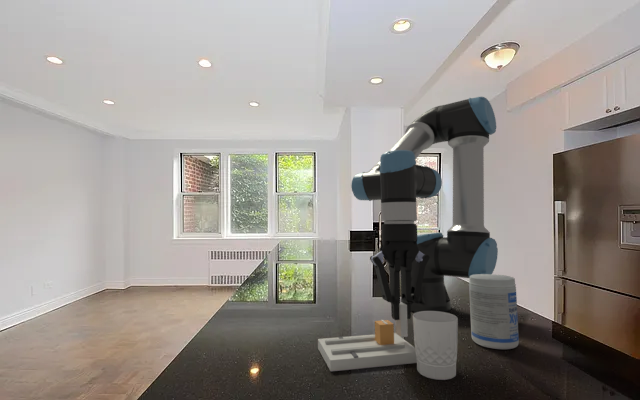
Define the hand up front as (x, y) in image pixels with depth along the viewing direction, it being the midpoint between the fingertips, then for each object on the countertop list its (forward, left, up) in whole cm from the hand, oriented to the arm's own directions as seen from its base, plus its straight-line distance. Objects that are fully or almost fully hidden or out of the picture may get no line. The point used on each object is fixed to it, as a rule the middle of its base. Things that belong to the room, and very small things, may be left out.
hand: (401, 334), depth 74 cm
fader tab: (+4, 0, -1) cm, 4 cm away
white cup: (-2, +10, -4) cm, 11 cm away
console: (+8, 0, -4) cm, 9 cm away
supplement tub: (-22, 0, -4) cm, 23 cm away
